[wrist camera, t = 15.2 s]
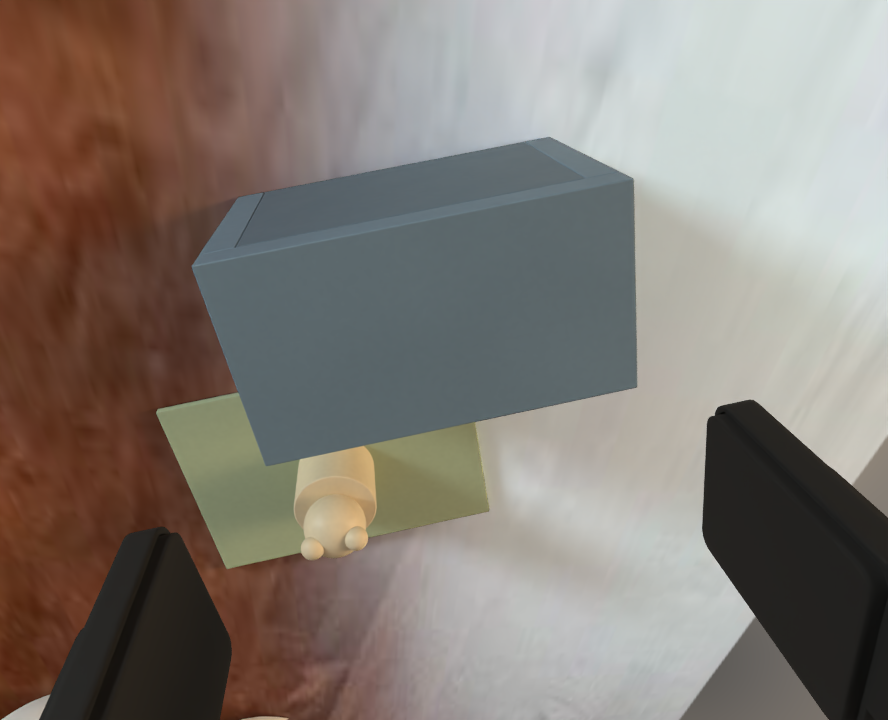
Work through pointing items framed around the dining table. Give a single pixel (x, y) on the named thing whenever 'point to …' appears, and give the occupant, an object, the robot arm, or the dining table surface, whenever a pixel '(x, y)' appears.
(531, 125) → the dining table surface
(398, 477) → the mat
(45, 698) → the egg with bunny ears
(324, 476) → the bear
